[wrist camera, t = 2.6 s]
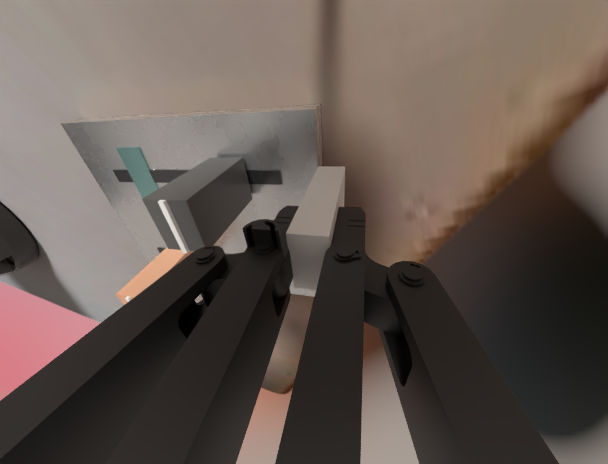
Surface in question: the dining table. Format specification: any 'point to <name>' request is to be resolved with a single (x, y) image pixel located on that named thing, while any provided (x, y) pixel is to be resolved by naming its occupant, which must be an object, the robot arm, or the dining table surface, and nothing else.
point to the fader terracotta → (151, 273)
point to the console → (196, 149)
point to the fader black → (200, 203)
